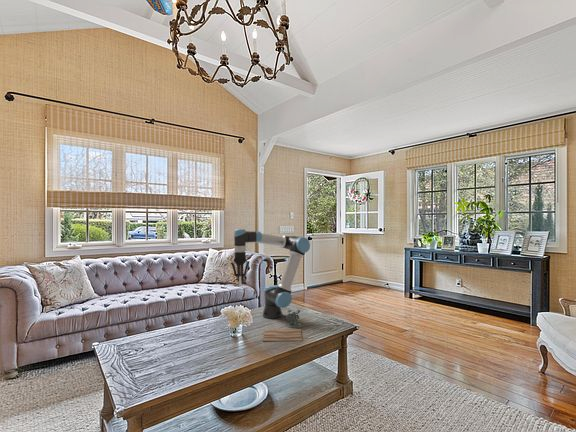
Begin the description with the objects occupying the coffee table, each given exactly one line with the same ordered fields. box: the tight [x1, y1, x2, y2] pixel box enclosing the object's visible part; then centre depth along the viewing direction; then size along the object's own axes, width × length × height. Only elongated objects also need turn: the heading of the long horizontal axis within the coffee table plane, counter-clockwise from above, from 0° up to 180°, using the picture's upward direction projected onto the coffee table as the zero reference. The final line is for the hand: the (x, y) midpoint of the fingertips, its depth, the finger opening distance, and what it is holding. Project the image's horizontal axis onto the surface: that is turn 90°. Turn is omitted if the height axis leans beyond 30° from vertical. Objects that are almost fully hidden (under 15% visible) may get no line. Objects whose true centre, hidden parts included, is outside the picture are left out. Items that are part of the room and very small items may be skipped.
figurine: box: [285, 309, 303, 329], centre depth 216 cm, size 11×11×12 cm
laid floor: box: [262, 334, 303, 343], centre depth 194 cm, size 9×24×1 cm, turn 91°
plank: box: [263, 328, 302, 337], centre depth 203 cm, size 9×24×1 cm, turn 91°
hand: (240, 286), depth 213 cm, fingers closed
